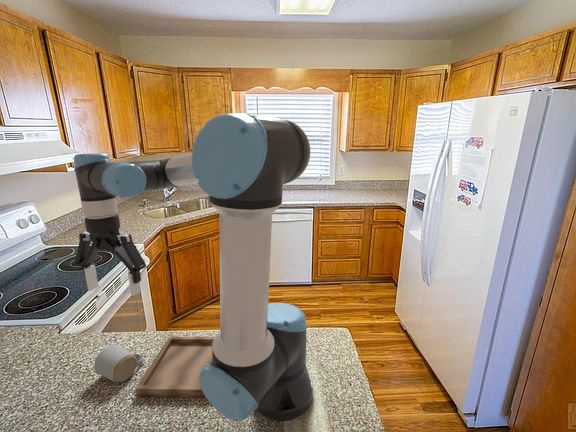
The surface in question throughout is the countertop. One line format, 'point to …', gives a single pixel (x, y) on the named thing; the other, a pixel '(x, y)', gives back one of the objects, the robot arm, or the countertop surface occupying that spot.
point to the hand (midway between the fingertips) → (114, 291)
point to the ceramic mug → (117, 363)
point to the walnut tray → (177, 369)
